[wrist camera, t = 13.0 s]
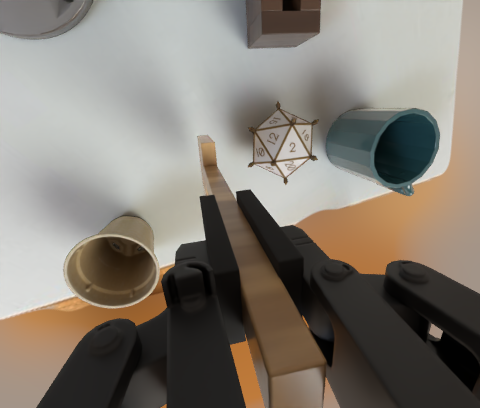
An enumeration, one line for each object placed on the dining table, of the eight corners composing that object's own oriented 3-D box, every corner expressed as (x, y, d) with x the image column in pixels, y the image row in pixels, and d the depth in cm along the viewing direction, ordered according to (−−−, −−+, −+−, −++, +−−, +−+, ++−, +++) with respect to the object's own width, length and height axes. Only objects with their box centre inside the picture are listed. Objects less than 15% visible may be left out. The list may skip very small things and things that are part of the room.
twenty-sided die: (276, 137, 38) (336, 163, 32) (238, 174, 35) (296, 208, 30) (267, 81, 31) (343, 101, 25) (219, 122, 28) (290, 154, 23)
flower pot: (147, 274, 37) (136, 318, 29) (80, 250, 34) (48, 293, 26) (177, 222, 35) (174, 255, 27) (109, 192, 32) (84, 219, 24)
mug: (315, 133, 35) (359, 140, 26) (367, 96, 35) (428, 91, 26) (347, 195, 39) (393, 220, 31) (393, 163, 39) (452, 179, 30)
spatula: (213, 183, 30) (319, 466, 6) (203, 184, 30) (271, 481, 6) (208, 134, 28) (337, 274, 4) (197, 135, 28) (266, 287, 4)
